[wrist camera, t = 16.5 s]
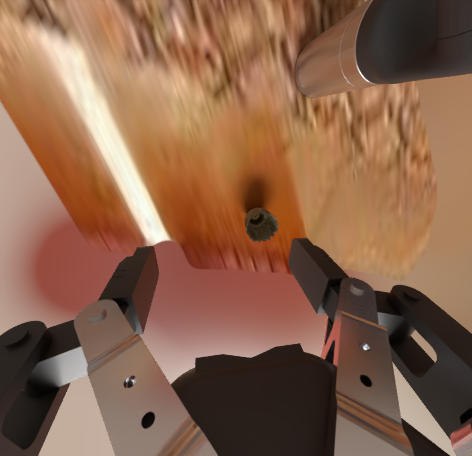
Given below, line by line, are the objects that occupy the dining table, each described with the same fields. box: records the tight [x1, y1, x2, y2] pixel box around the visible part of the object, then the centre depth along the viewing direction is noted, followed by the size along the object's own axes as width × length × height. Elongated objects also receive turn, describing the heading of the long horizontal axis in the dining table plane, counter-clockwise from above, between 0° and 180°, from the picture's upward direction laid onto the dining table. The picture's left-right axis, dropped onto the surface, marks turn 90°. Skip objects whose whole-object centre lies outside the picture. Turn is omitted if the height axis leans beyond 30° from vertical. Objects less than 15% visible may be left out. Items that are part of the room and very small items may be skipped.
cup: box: [245, 208, 278, 242], centre depth 48 cm, size 8×7×8 cm
